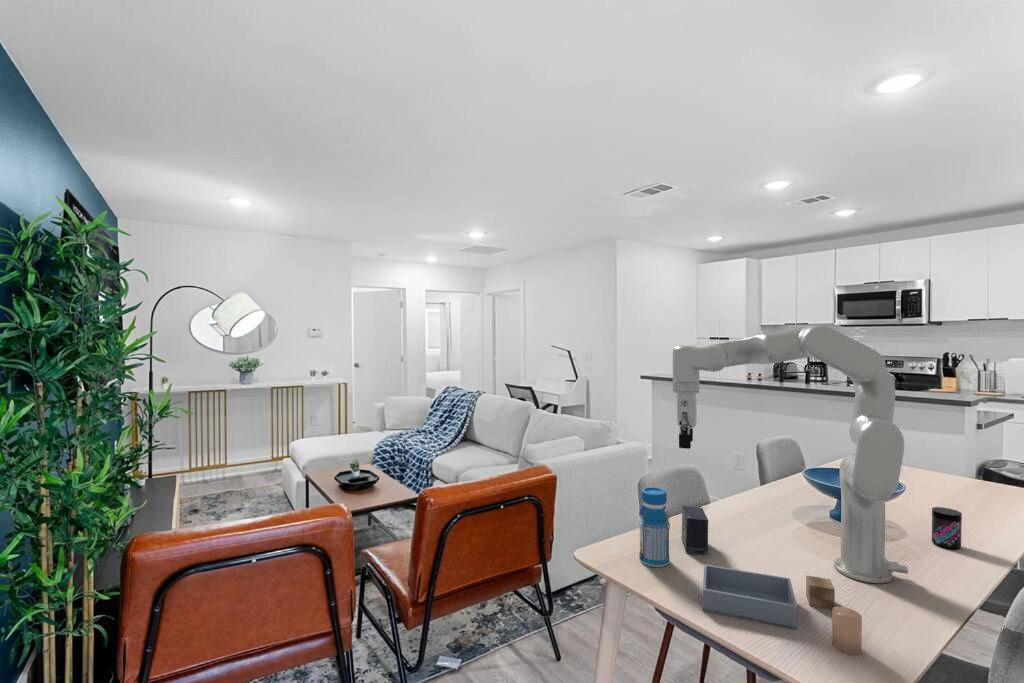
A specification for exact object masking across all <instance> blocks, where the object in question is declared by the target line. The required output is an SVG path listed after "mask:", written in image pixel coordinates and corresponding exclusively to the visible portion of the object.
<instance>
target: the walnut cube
mask: <svg viewBox="0 0 1024 683" xmlns="http://www.w3.org/2000/svg"><path fill="white" fill-rule="evenodd" d="M805 578H806V579H805V587H806V588H805V589H806V590H805V591H806V592H805V594H806V596H805V597H806V600H807V603H808V606H809V607H813V608H820V609H825V610H829V609H830V611H832V609H833V608H834V607H836V606H835V602H836V601H835V599H836V598H835V597H836V596H835V595H836V593H835V591H836V589H835V587H834V584H833V582H832V579H830V578H825V577H819V576H813V575H806V576H805Z"/></svg>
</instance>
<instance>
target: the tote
mask: <svg viewBox="0 0 1024 683" xmlns="http://www.w3.org/2000/svg"><path fill="white" fill-rule="evenodd" d="M702 578H703V579H702V611H703V612H705V613H706V612H707V613H712V614H717V615H722V616H727V617H731V618H738V619H742V620H747V621H751V622H752V621H753V622H756V623H757V622H758V623H761V624H768V625H771V626H777V627H781V628H786V629H787V628H788V629H793V630H796V631H797V630H799V629H798V620H799V619H798V618H799V617H798V616H799V615H798V614H799V613H798V610H799V608H798V604H797V600H796V596H795V592H794V589H793V585H792V582H791V578H790V577H789V578H788V577H785V576H784V577H783V576H778V575H771V574H766V573H759V572H753V571H747V570H741V569H734V568H728V567H723V566H719V565H717V566H716V565H712V564H711V565H710V564H705V563H704V565H703V576H702Z"/></svg>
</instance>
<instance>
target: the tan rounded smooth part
mask: <svg viewBox="0 0 1024 683" xmlns="http://www.w3.org/2000/svg"><path fill="white" fill-rule="evenodd" d="M831 611H832V612H831V614H832V615H831V628H832V629H831V644H832V646H833V647H835V648H834V649H835V650H837V651H838V652H841V653H842V654H845V655H849V656H860V655H861V654H862V652H863V650H862V646H863V645H862V643H863V641H862V640H863V638H862V637H863V636H862V635H863V634H862V632H863V631H862V628H863V626H862V625H863V619H862V618H863V616H862V615H861V614H860V613H859V612H858V611H856V610H854V609H852V608H850V607H846V606H844V607H843V606H835V607H834V608H833V609H832V610H831Z"/></svg>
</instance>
